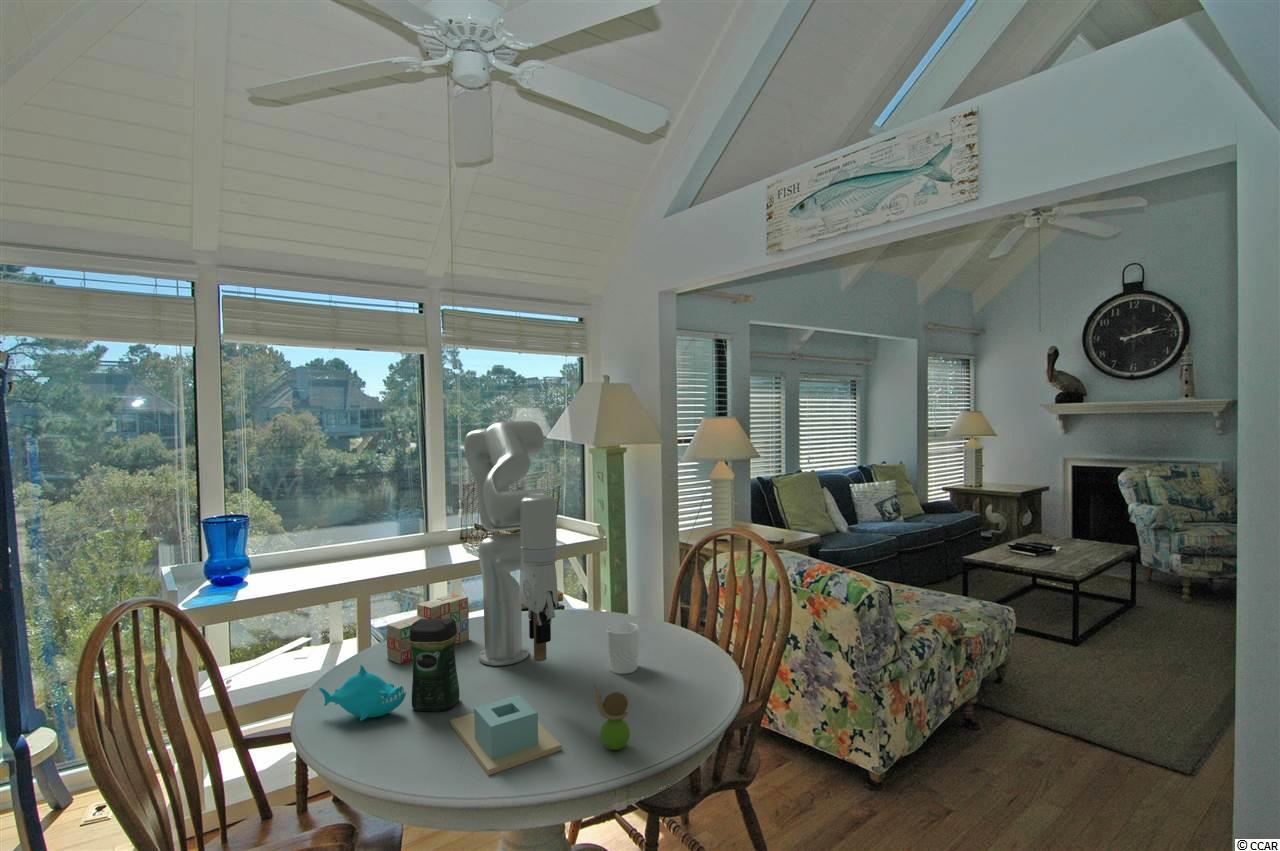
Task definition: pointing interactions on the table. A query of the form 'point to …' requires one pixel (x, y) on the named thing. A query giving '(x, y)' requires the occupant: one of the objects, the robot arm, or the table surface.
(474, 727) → the shape sorter toy
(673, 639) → the table surface
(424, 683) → the coffee jar
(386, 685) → the toy shark
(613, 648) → the white cup
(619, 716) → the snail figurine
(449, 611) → the stack of blocks
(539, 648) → the brown wooden rod
